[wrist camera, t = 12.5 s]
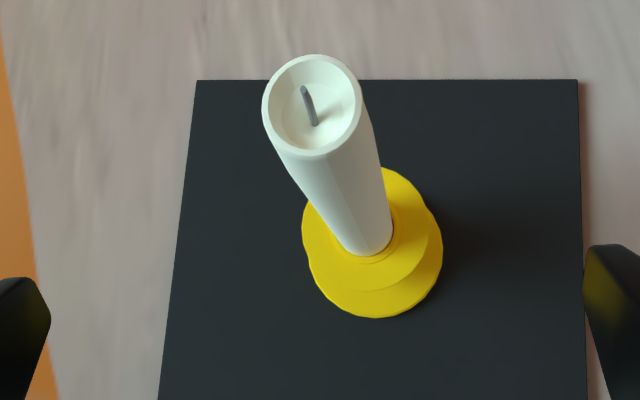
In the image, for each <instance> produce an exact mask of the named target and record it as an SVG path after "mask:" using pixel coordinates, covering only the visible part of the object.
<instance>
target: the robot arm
mask: <svg viewBox="0 0 640 400" xmlns="http://www.w3.org/2000/svg"><path fill="white" fill-rule="evenodd" d="M582 299H583V304H584V307H585V311H586V315H587V318H588V322H589V325H590V329H591V332H592V336H593V339H594V343H595V346H596V350H597V353H598V357H599V360H600V364H601V367H602V371H603V374H604V378H605V381H606V385H607V388H608V391H609V394H610V397H611V400H640V256H639V255H637V254H635V253H634V252H632V251H631V250H629V249H627V248H626V247H624V246H622V245H619V244H605V245H593V246H591V247H590V248H589V250H588V252H587V256H586V263H585V270H584V277H583V284H582ZM50 325H51V314H50V311H49V309H48V307H47V305H46V303H45V301H44V299H43V297H42V295H41V293H40V291H39V289H38V288H37V286H36V284H35V282H34V281H33V280H32V279H30V278H28V277H14V278H6V279H3V280H1V281H0V400H25V397H26V394H27V392H28V389H29V385H30V383H31V380H32V377H33V374H34V372H35V369H36V366H37V363H38V360H39V357H40V354H41V352H42V349H43V346H44V343H45V340H46V337H47V335H48V332H49V329H50Z"/></svg>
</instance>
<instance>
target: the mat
mask: <svg viewBox="0 0 640 400" xmlns="http://www.w3.org/2000/svg"><path fill="white" fill-rule="evenodd" d="M269 81H270V80H197V82H196V90H195V98H194V107H193V115H192V123H191V131H190V139H189V147H188V156H187V164H186V172H185V180H184V188H183V196H182V204H181V213H180V221H179V229H178V237H177V245H176V253H175V262H174V270H173V278H172V286H171V294H170V302H169V310H168V319H167V327H166V335H165V343H164V351H163V359H162V368H161V376H160V384H159V392H158V400H588V397H587V366H586V334H585V307H584V304H583V299H582V284H583V277H584V270H583V239H582V207H581V175H580V143H579V112H578V81H577V79H556V80H358V82H359V85H360V87H361V90H362V96H363V101H364V104H365V106H366V109H367V112H368V115H369V118H370V121H371V124H372V127H373V132H374V137H375V142H376V147H377V152H378V156H379V161H380V166H381V167H383V168H386V169H389V170H392V171H394V172H396V173H398V174H399V175H401V176H402V177H404V178H405V179H407V180H408V181H409V182H410V183H411V184H412V185H413V186H414V188H415V189H416V190H417V191H418V192H419V193H420V195H421V197H422V199H423V202H424V204H425V206H426V207H427V209H428V210H429V211H430V212H431V213H432V214H433V216H434V219H435V221H436V223H437V225H438V227H439V229H440V233H441V238H442V244H443V256H442V266H441V269H440V272H439V274H438V277H437V279H436V282H435V284H434V285H433V287H432V288H431V289H430V291H429V292H428V294H427V295H426V296H425V298H424V299H422V300H421V301H420V302H419V303H417V304H416V305H415V306H413V307H412V308H411V309H409V310H407V311H404V312H402V313H400V314H397V315H395V316H390V317H383V318H369V317H362V316H357V315H354V314H352V313H350V312H347V311H345V310H343V309H340V308H339V307H338V306H337V305H335V304H334V303H333V302H331V301H330V300H329V299H328V298H326V296H325V295H324V294H323V292H322V291H321V289H320V288H319V287H318V285H317V284H316V282H315V280H314V277H313V275H312V272H311V270H310V267H309V258H308V255H307V252H306V250H305V247H304V245H303V238H302V230H301V226H302V220H303V213H304V210H305V207H306V205H307V203H308V198H307V197H306V195H305V194H304V193H303V191H302V190H301V189H300V187H299V186H298V185H297V183H296V182H295V181H294V179H293V178H292V176H291V175H290V174H289V172H288V171H287V169H286V167H285V165H284V164H283V162H282V160H281V158H280V156H279V155H278V153H277V151H276V149H275V148H274V146H273V144H272V142H271V140H270V139H269V136H268V134H267V132H266V130H265V127H264V124H263V118H262V112H261V108H262V98H263V95H264V92H265V89H266V86H267V84H268V83H269Z"/></svg>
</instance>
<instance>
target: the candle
mask: <svg viewBox="0 0 640 400" xmlns="http://www.w3.org/2000/svg"><path fill="white" fill-rule="evenodd" d="M261 112H262V118H263V124H264V127H265V130H266V132H267V134H268V136H269V139H270V140H271V142H272V144H273V146H274V148H275V149H276V151H277V153H278V155H279V156H280V158H281V160H282V162H283V164H284V165H285V167H286V169H287V171H288V172H289V174H290V175H291V176H292V178H293V179H294V181H295V182H296V183H297V185H298V186H299V187H300V189H301V190H302V191H303V193H304V194H305V195H306V197H307V198H308V203H307V205H306V207H305V210H304V213H303V220H302V226H301V230H302V238H303V245H304V247H305V250H306V252H307V255H308V258H309V267H310V270H311V272H312V275H313V277H314V280H315V282H316V284H317V285H318V287H319V288H320V289H321V291H322V292H323V294H324V295H325V296H326V298H328V299H329V300H330V301H331V302H333V303H334V304H335V305H337V306H338V307H339V308H340V309H343V310H345V311H347V312H350V313H352V314H354V315H357V316H362V317H369V318H383V317H390V316H395V315H397V314H400V313H402V312H404V311H407V310H409V309H411V308H412V307H413V306H415V305H416V304H417V303H419V302H420V301H421V300H422V299H424V298H425V296H426V295H427V294H428V292H429V291H430V289H431V288H432V287H433V285H434V284H435V282H436V279H437V277H438V274H439V272H440V269H441V266H442V256H443V244H442V238H441V233H440V229H439V227H438V225H437V223H436V221H435V219H434V216H433V214H432V213H431V212H430V211H429V210H428V209H427V207H426V206H425V204H424V202H423V199H422V197H421V195H420V193H419V192H418V191H417V190H416V189H415V188H414V186H413V185H412V184H411V183H410V182H409V181H408V180H407V179H405V178H404V177H402V176H401V175H399V174H398V173H396V172H394V171H392V170H389V169H386V168H383V167H381V166H380V161H379V156H378V152H377V147H376V142H375V137H374V132H373V127H372V124H371V121H370V118H369V115H368V112H367V109H366V106H365V104H364V101H363V96H362V90H361V87H360V85H359V82H358V80H357V78H356V76H355V75H354V74H353V72H352V71H351V70H350V69H349V68H348V67H347V66H346V65H345V64H343V63H342V62H340V61H339V60H337V59H335V58H332V57H329V56H325V55H311V54H310V55H306V56H302V57H297V58H295V59H294V60H292V61H290V62H288V63H286V64H285V65H284V66H282V67H281V68H280V69H279V70H278V71H277V72H276V73H275V74H274V75H273V77H272V78H271V80H270V81H269V83H268V84H267V86H266V89H265V92H264V95H263V98H262V108H261Z"/></svg>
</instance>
